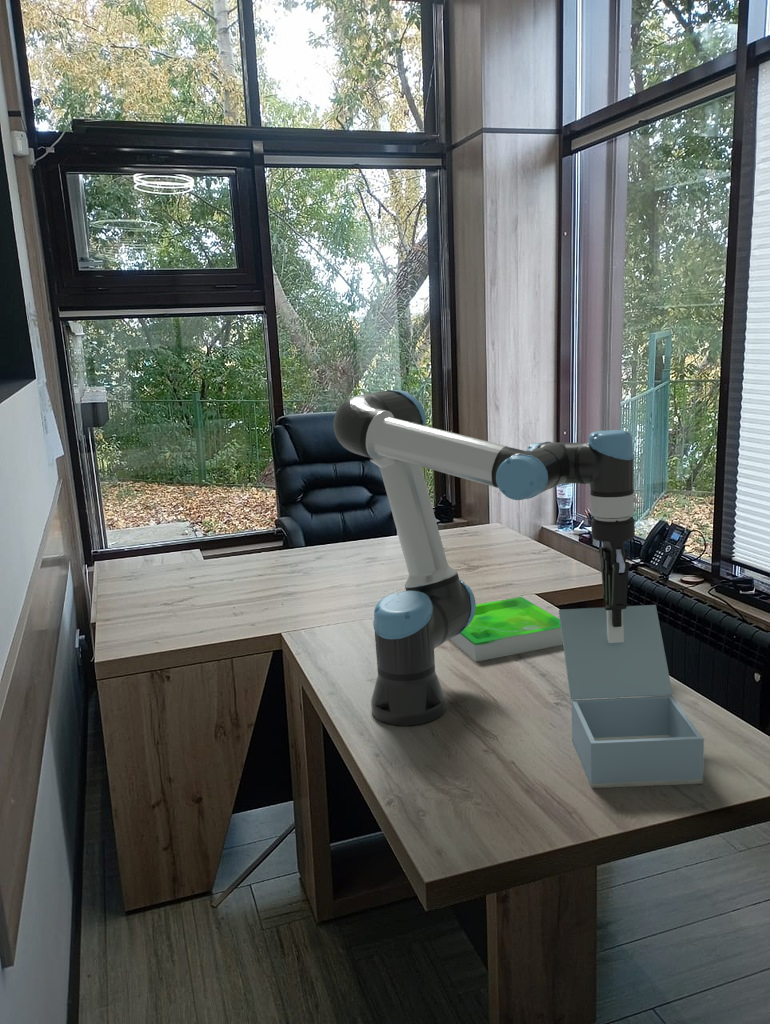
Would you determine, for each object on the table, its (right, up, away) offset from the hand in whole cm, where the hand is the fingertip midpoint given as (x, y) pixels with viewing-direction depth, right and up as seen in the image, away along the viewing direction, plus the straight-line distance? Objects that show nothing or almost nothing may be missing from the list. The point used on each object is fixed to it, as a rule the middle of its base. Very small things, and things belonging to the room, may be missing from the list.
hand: (615, 641), depth 150 cm
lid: (0, -2, 0) cm, 2 cm away
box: (0, -19, -10) cm, 22 cm away
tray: (-14, -8, +52) cm, 55 cm away
